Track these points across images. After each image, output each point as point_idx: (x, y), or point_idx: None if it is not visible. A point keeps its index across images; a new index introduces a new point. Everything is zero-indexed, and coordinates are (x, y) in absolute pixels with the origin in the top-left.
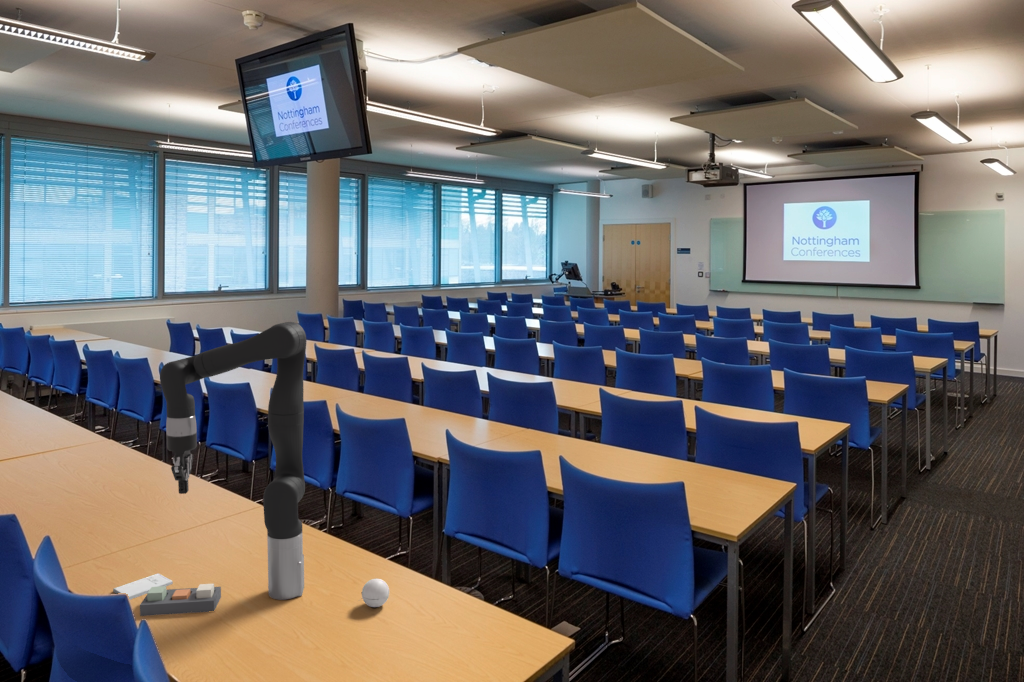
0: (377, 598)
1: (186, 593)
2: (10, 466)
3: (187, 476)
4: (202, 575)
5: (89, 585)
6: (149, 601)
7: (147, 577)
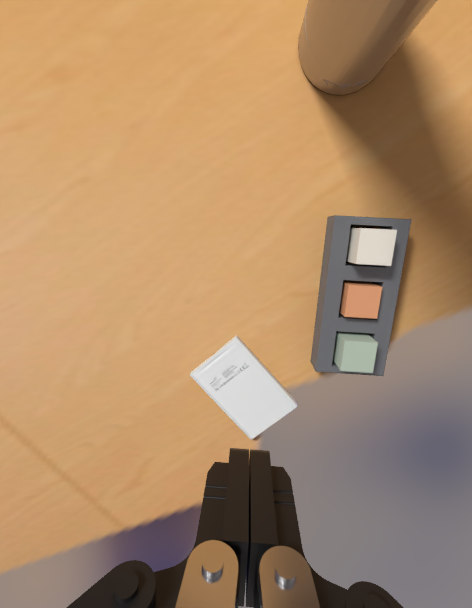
0: None
1: (370, 289)
2: None
3: (262, 586)
4: (203, 280)
5: None
6: None
7: (210, 390)
